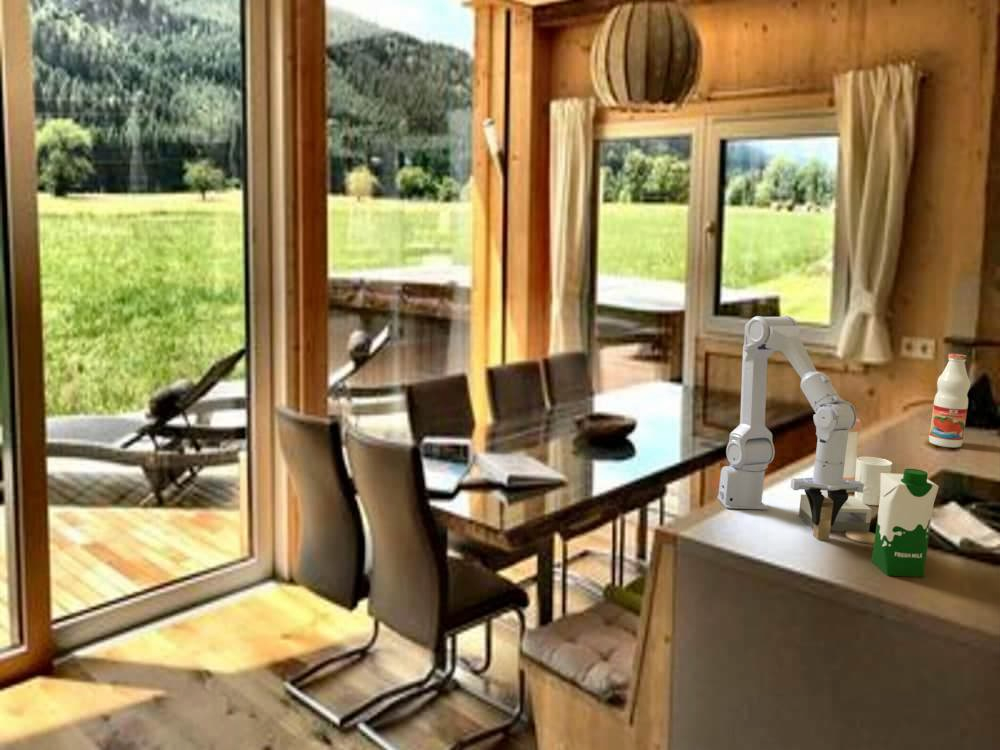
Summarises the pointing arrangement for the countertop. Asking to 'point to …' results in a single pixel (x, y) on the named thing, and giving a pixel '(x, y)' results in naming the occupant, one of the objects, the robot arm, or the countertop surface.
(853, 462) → the pepper shaker
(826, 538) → the stick
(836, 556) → the countertop surface
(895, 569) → the milk carton
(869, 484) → the white cup
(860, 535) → the coaster
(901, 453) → the countertop surface
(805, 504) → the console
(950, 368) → the fruit juice
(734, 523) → the countertop surface
